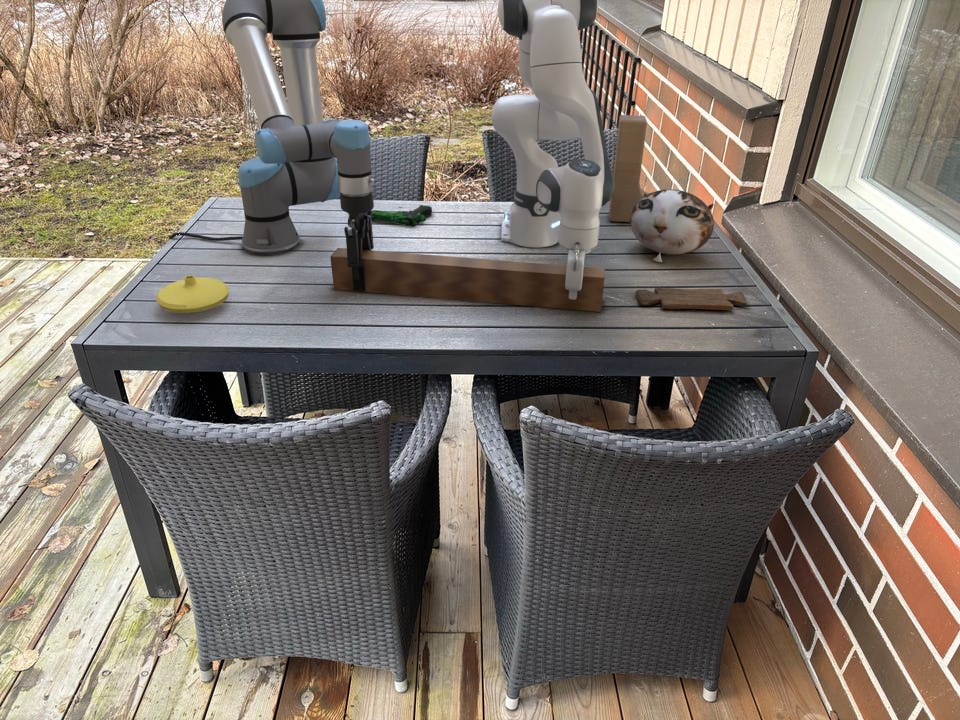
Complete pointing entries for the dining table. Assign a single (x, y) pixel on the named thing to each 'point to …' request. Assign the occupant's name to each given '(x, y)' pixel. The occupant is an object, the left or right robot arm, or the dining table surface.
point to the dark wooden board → (691, 298)
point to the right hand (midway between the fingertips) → (573, 291)
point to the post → (470, 279)
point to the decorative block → (628, 167)
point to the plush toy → (672, 222)
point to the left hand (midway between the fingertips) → (363, 285)
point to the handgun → (403, 216)
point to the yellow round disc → (192, 295)
